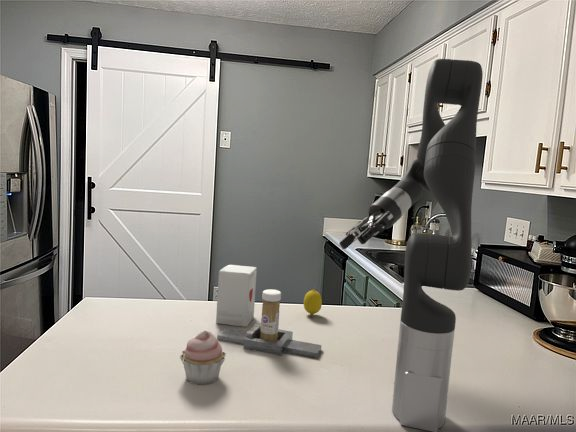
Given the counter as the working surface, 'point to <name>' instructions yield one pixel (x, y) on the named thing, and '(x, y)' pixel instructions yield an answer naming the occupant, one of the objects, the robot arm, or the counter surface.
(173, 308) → the counter surface
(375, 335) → the counter surface
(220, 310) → the supplement box
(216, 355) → the cupcake
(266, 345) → the grey frame base plate
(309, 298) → the lemon
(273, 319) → the sprinkles bottle
